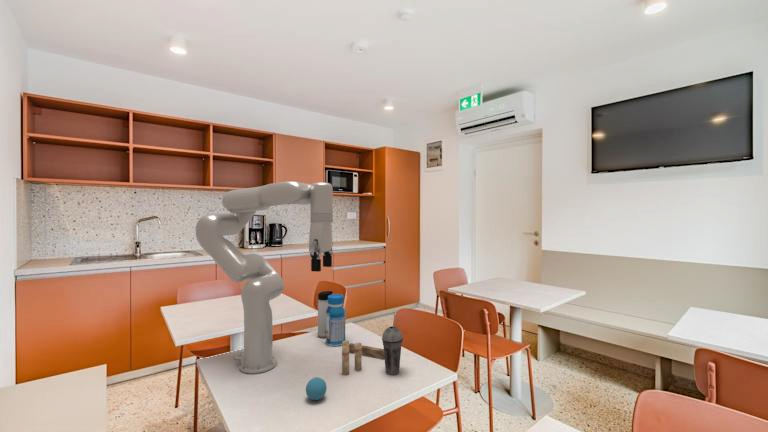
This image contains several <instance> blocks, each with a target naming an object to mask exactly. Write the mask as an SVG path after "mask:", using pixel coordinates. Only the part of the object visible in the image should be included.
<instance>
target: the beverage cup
mask: <svg viewBox="0 0 768 432" xmlns="http://www.w3.org/2000/svg"><path fill="white" fill-rule="evenodd" d="M395 322H396V313H393V322H392V326H388V327H386V328H385V330H384V331H383V333H382V337H381V340H382V346H383V349H384V358H385V360H384V368H385V374H386V375H388V376H396V375H398V374H399V372H400V366H401V352H402V347H403V346H402V345H403V338H404V337H403V334H402V332H401V330H400V329H399V328H398V327H396V326H395V324H396V323H395Z"/></svg>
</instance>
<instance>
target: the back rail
mask: <svg viewBox="0 0 768 432" xmlns="http://www.w3.org/2000/svg"><path fill="white" fill-rule="evenodd" d="M349 354H354V355H355V343H351V342H349ZM362 356H364V357H367V358H374V359H380V360H384V361H385V358H384V348H379V347H373V346H368V345H362Z"/></svg>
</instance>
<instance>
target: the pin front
mask: <svg viewBox="0 0 768 432" xmlns="http://www.w3.org/2000/svg"><path fill="white" fill-rule="evenodd" d="M341 360H342V361H341V375H342V376H348V375H350V353H349V346H343V347H342V346H341Z"/></svg>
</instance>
